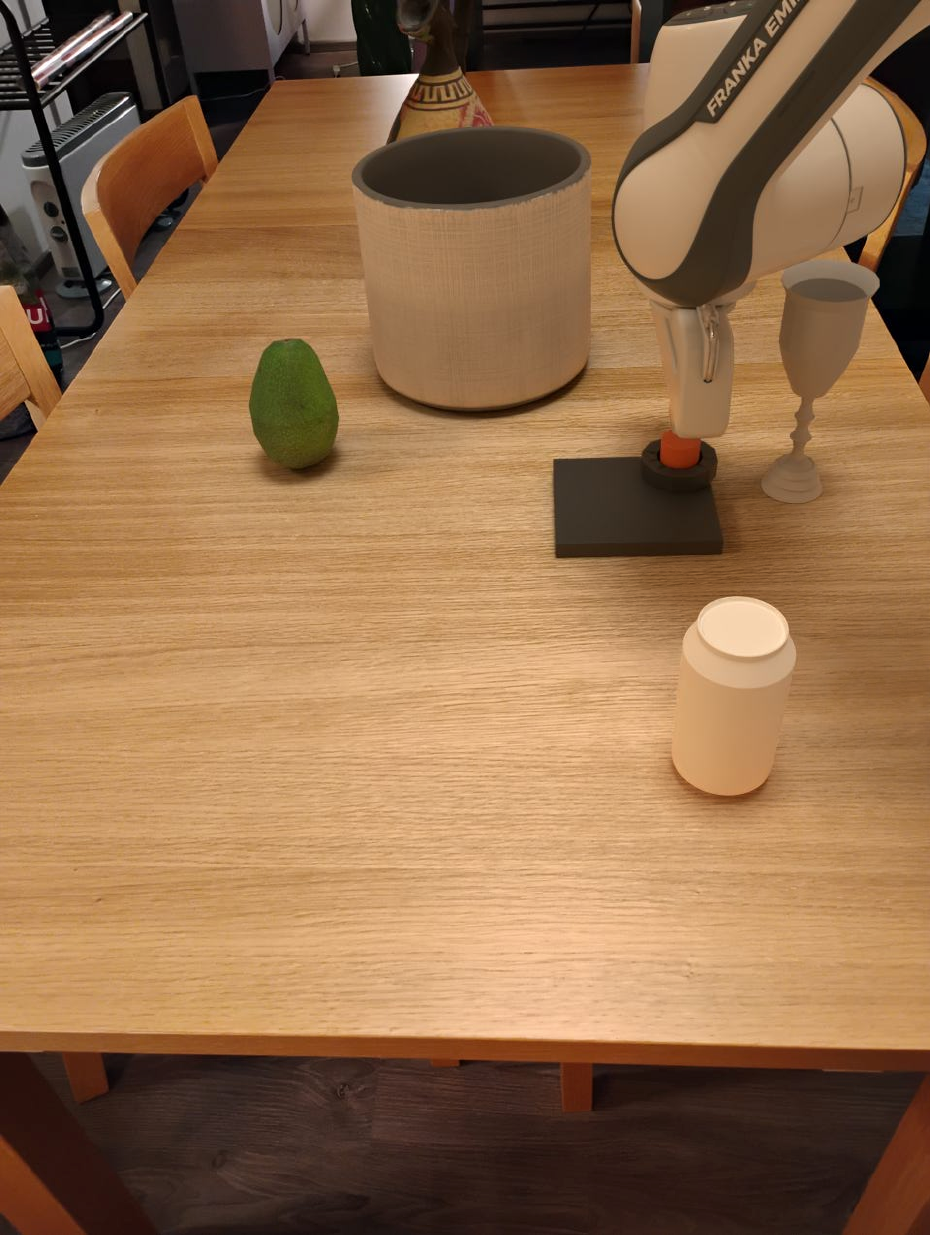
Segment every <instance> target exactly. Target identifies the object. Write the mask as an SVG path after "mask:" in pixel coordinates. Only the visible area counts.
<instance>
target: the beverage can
mask: <svg viewBox="0 0 930 1235" xmlns="http://www.w3.org/2000/svg"><path fill="white" fill-rule="evenodd" d="M789 628H790V627H789V624H788V621H787V619H786V617H785V616H784V615H783V613H782V612H780V610H779V609H778V608H776V607H775V606H773V605H771V604H770V603H768V602H766V601H763V600H761V599H758V598H754V597H751V596H750V597H749V596H742V595H741V596H733V595H732V596H725V597H721V598H718V599H715V600H712V601H711V602H709V603H708V604H707V605H705V606H704V607H703V608H702V609H701V611H700V612H699V614H698V616H697V619H696V620H695V621H694V622H693V623H692V624H691V625H690V626H689V627H688V629H687V630H686V632H685V634H684V636H683V639H682V644H681V655H680V663H679V672H678V682H677V692H676V698H675V699H676V701H675V709H674V719H673V728H672V729H673V730H672V737H671V758H672V762H673V765H674V767H675V769H676V771H677V772H678V773H679V775H680V776H681V777H682V778H683V779H684V780H685V781H686V782H687V783H689V784H690V785H692V786H693V787H695V788H696V789H698V790H701V791H703V792H705V793H709V794H711V795H717V796H739V795H743V794H747V793H750V792H751V791H753V790H755V789H757V788H759V787H760V786H761V785H762V784H764V783H765V782H766V780H767V779H768V777H769V775H770V773H771V772H772V768H773V765H774V761H775V757H776V752H777V748H778V743H779V739H780V736H781V735H780V734H781V730H782V726H783V721H784V718H785V712H786V708H787V703H788V698H789V694H790V689H791V686H792V685H791V684H792V680H793V676H794V671H795V666H796V662H797V650H796V646H795V642H794V641H793V638H792V637H791V635H790V629H789Z"/></svg>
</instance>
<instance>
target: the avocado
mask: <svg viewBox="0 0 930 1235" xmlns="http://www.w3.org/2000/svg"><path fill="white" fill-rule="evenodd" d="M250 389H251V390H250V394H249V400H248V409H249V414H250V420H251V426H252V431H253V434H254V436H255V438H256V440H257V442H258V444H259V446H260V448H261V449H262V450H263V452H264V453H265V455H266V457H267V458H268V459H270V460H271V461H273V462H274V463H275V464H277V465H279V466H281V467H284V468H287V469H293V470H294V469H295V470H303V469H305V468H308V467H311V466H313V465H315V464H318V463H320V462H321V461H323V460H324V459H325V458H326V457H327V456H328V455H329V454H330V452H331V451H332V450H333V447H334V444H335V442H336V438H337V435H338V430H339V424H340V423H339V422H340V415H339V409H338V402H337V397H336V395H335V392H334V390H333V388H332V385H331V384H330V381H329V378H328V376H327V374H326V372H325V370H324V368H323V365H322V363H321V361H320V358H319V356H318V354H317V353H316V351H315V350H314V349H313V347H312V346H311V345H310V344H309V343H308V342H306V341H305V340H303V339H302V338H286V339H285V338H284V339H283V338H282V339H278V340H273V341H272V342H271V343H270V344H269V345H268V346H267V347H265V349H264V350H263V352H262V354H261V355H260V358H259V362H258V365H257V368H256V371H255V373H254V376H253V380H252V383H251V388H250Z"/></svg>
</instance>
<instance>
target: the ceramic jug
mask: <svg viewBox="0 0 930 1235" xmlns="http://www.w3.org/2000/svg"><path fill="white" fill-rule="evenodd" d="M474 1H475V0H454V3H453V4H454V6H453V11H451V0H400V2H399V3H398V6H397V8H396V13H395V21H396V25H397V27H398V29H399V31H400V32H401V33H402V34H404V35H406V36H409V37H411V38H414V39H416V40H418V41H421V42H423V43H424V44H425V47H426V48H425V49H426V54H425V58H424V60H423V62H422V65H421V66H420V68H419V71H418V76H417V78H416V79H415V80H414V82H413V84H412V85H411V86H410V88H409V90H408V93H407V95H406V96H405V98H404V100H403V101H402V103H401V106H400V109H398V110H399V111H398V112H397V114H396V116H395V119H394V121H393V123H392V125H391V127H390V131H389V134H388V137H387V139H386V143H385V145H387V144H390V143H392V142H395V141H398V140H401V139H404V138H407V137H411V136H415V135H419V134H423V133H428V132H433V131H439V130H445V129H452V128H461V127H473V126H495V123H494V121H493V120H492V118H491V116H490V114H489V113H488V111H487V110H486V108H485V106H484V105H483V103H482V101H481V99H480V98H479V96H478V94H477V93H476V91H475V90H474V88H473V87H472V85H471V84H470V83H469V81H468V79H467V77H466V76H467V65H466V56H467V54H468V44H469V43H468V41H469V36H470V31H471V26H472V17H473V16H472V15H473V9H474V8H473V7H474Z"/></svg>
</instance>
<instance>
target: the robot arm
mask: <svg viewBox="0 0 930 1235" xmlns="http://www.w3.org/2000/svg"><path fill="white" fill-rule="evenodd" d="M929 26H930V0H731V1H727V2H725V3H719V4H710V5H707V6H702V7H698V8H694V9H689V10H684V11H682V12H679V13H678V14H676V15H674V16H673V17H671V18H670V19H669V20H668V21H667V22H665V23H664V24H663V25H662V26H661V28H660V30H659V31H658V34H657V36H656V39H655V42H654V45H653V49H652V51H651V55H650V61H649V64H648V69H647V71H648V72H647V76H646V82H645V90H644V99H643V106H642V117H641V118H642V119H641V134H640V135H639V136H638V137H637V139H636V140H635V141H634V143H633V144H632V146H631V148H630V150H629V151H628V153H627V156H626V157H625V159H624V162H623V164H622V166H621V169H620V172H619V174H618V177H617V181H616V184H615V188H614V193H613V197H612V203H611V213H610V214H611V216H610V217H611V219H610V220H611V229H612V236H613V240H614V244H615V248H616V251H617V252H618V255H619V256H620V259H621V260H622V262H623V264H624V266H626V268H627V269H628V270H629V272H630V273H631V274H632V275H633V284H634V286H635V288H636V290H637V291H638V292H639V293H640V294H641V295H643V296H644V297H646V298H648V299H649V306H650V309H651V314H652V320H653V324H654V329H655V334H656V339H657V344H658V349H659V350H658V351H659V354H660V360H661V364H662V370H663V374H664V379H665V385H666V389H667V390H666V391H667V396H668V400H669V401H668V418H669V421H670V427H671V429H672V432H673V433H674V434H676V435H677V436H678V437H680V438H687V439H697V438H701V439H717V438H721V437H723V436H724V435H725V433H726V432H727V430H728V427H729V423H730V417H731V416H730V414H731V405H732V396H733V395H732V393H733V383H734V382H733V381H734V372H735V370H734V368H735V338H734V333H733V329H732V326H731V323H730V320H729V317H728V315H729V314H730V313H732V312H733V311H734V310H735V308H736V306H737V302H738V301H740V300H742V299H744V298H745V297H747V296H749V295H750V294H751V293H752V292H753V291H754V289H755V288H756V286H757V282H758V280H759V279H761V278H765V277H767V276H769V275H772V274H774V273H775V274H776V273H777V272H780V271H783V270H786V269H787V268H789V267H791V266H794V265H797V264H800V263H802V262H805V261H808V260H813V258H814V259H815V258H816V257H819V256H821V255H824V254H827V253H829V252H831V251H832V252H833V251H835V250H837V249H840V248H843V247H845V246H848V245H850V244H852V243H854V242H856V241H858V240H860V239H862V238H864V237H867V236H868V235H871V234H872V233H874V232H875V231H877V230H878V229H880V227H882V226H883V224H884V223H886V221H887V220H888V219H889V217H890V216H891V214H892V213H893V211H894V209H895V207H896V205H897V203H898V201H899V199H900V197H901V194H902V191H903V188H904V184H905V180H906V175H907V169H908V145H907V137H906V133H905V130H904V125H903V124H902V120H901V118H900V115H899V114H898V112H897V111H896V109H895V108H894V106H893V104H892V103H891V102H890V101H889V100H888V98H887V97H886V96H885V95H884V94H883V93H882V92H881V91H880V90H878V89H877V88H875V87H874V86H872V85H869V84H867V83H864V81H865V80H866V78H868V76H869V75H870V74H871V73H873V71H874V70H875V69H876V68H877V67H878V66H879V65H880V64H881V63H882V62H883V61H884V60H885V59H887V57H889V56H890V55H891V54H892V53H893V52H894V51H896V50H897V49H899V47H901V46H902V45H903V44H904V43H906V42H907V41H908V40H910V39H911V38H913V37H914V36H915V35H918V33H919V32H921V31H923V30H924V29H925V28H927V27H929Z"/></svg>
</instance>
